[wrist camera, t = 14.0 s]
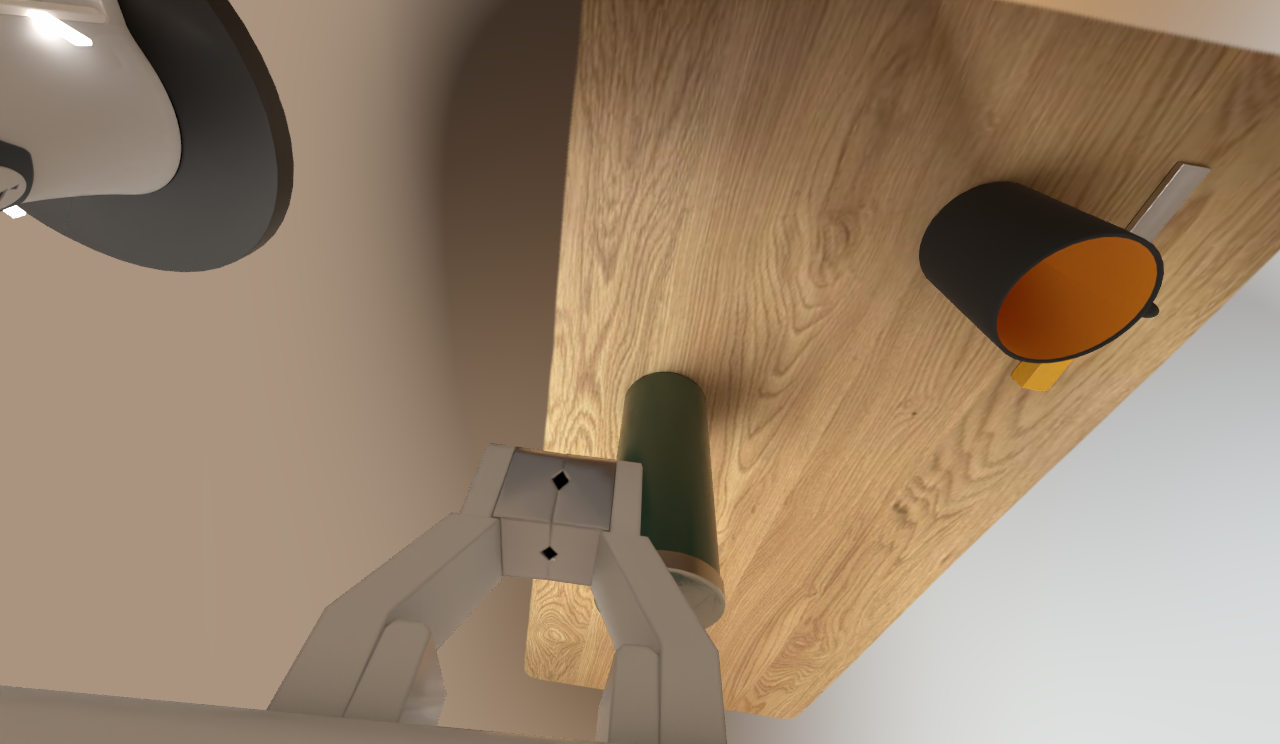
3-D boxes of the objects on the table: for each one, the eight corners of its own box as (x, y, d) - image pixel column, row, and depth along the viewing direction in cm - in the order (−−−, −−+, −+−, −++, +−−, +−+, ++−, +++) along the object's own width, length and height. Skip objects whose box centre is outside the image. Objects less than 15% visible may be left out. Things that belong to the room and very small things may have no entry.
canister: (605, 402, 46) (567, 599, 30) (666, 354, 43) (660, 550, 26) (663, 447, 50) (657, 648, 33) (725, 406, 46) (753, 610, 30)
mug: (1036, 309, 38) (1139, 388, 29) (897, 277, 37) (962, 349, 29) (1118, 208, 33) (1269, 267, 25) (960, 169, 32) (1061, 216, 24)
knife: (1033, 379, 42) (1046, 392, 40) (1010, 375, 42) (1022, 388, 40) (1207, 167, 31) (1232, 173, 30) (1175, 161, 31) (1200, 168, 30)
